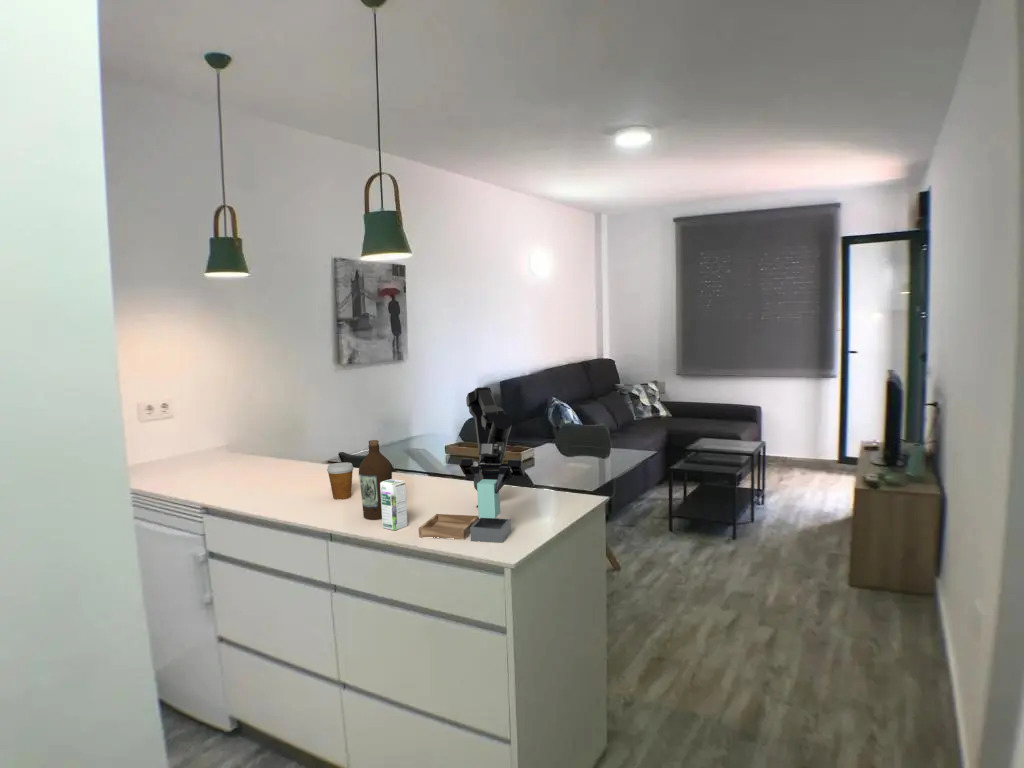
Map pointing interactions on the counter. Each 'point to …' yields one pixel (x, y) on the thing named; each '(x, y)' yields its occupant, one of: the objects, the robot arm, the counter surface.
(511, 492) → the counter surface
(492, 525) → the holder
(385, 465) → the olive oil
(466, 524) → the tray
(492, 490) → the block
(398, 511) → the syrup box
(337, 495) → the disposable coffee cup
